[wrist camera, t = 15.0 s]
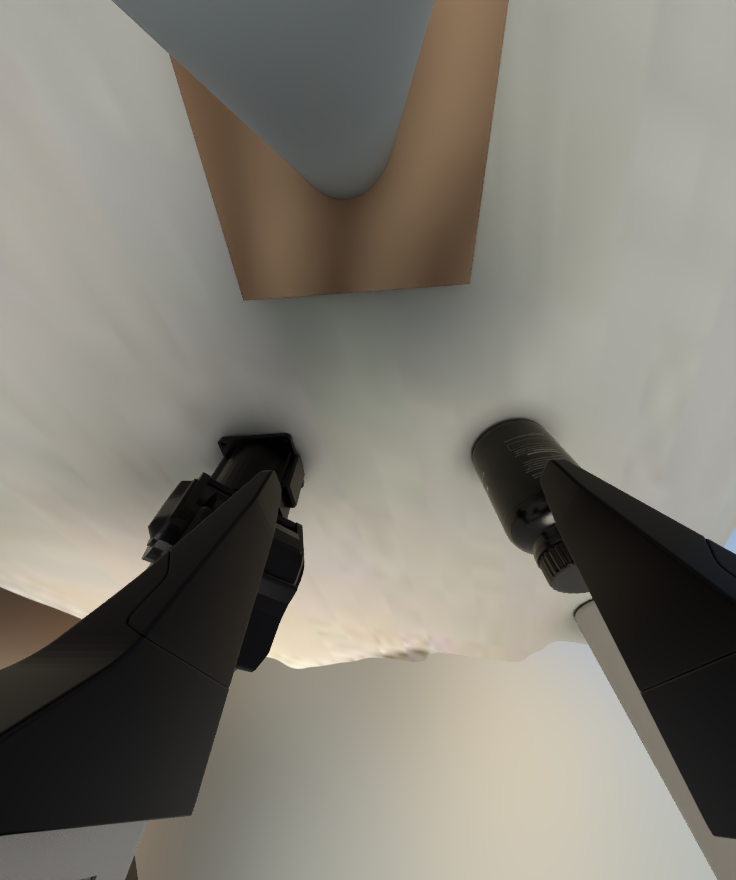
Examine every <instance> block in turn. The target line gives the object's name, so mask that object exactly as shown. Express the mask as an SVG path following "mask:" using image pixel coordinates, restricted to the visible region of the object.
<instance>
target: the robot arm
mask: <svg viewBox="0 0 736 880" xmlns="http://www.w3.org/2000/svg"><path fill="white" fill-rule="evenodd" d="M284 439H287V441H286V440H284ZM223 442H225V443H226V444H225V443H223ZM218 445H219V447H220V449H221V451H222V453H223V455H224V458H223V459H222V461H221V462H220V464H219V465H218V467H217V468H216V470H215V472H214V473H213V475H212V476H211V478H210V475H208V474H206V473H204V472H203V473H202V475H201V476H200V477H199V478H198V479H194V480H192V481H181V482H180V483H179V485H178V486H177V487H176V489H175V490H174V491H173V493H172V494H171V495H170V496H169V498H168V499H167V500H166V502H165V503H164V505H163V506H162V507H161V509H160V510H159V512H158V513H157V515H156V516H155V517H154V519H153V520H152V522H151V523H150V525H149V526H148V529H149V534H150V540H149V542H148V543H147V546H148V547H147V549H146V551H145V553H144V555H143V557H142V560H145V561H148V562H151V564H150V565H149V567H148V568H147V569H146V570H145V571H144V572H143V573H141V574H140V575H139V576H138V577H137V578H135V579H134V580H133V581H132V582H130V583H129V584H128V585H126V586H125V587H124V588H123V589H121V590H120V591H119V592H117V593H116V594H115V595H114V596H112V597H111V598H110V599H108V600H107V601H106V602H104V603H103V604H102V605H101V606H99V607H98V608H97V609H95V610H94V611H93V612H91V613H90V614H89V615H87V616H86V617H85V618H83V619H82V620H81V621H80V622H78V623H77V624H76V625H74V626H73V627H72V628H70V629H69V630H68V631H66V632H65V633H64V634H62V635H61V636H60V637H58V638H57V639H56V640H54V641H53V642H51V643H50V644H49V645H47V646H45V647H44V648H42V649H41V650H39V651H38V652H36V653H34V654H32V655H31V656H29V657H27V658H25V659H23V660H21V661H19V662H17V663H15V664H13V665H10V666H8V667H6V668H3V669H1V670H0V880H138V877H137V869H136V862H135V852H136V849H137V847H138V844H139V842H140V839H141V837H142V834H143V831H144V829H145V826H146V823H147V821H148V820H156V819H165V818H175V817H184V816H191V815H192V812H193V809H194V806H195V803H196V800H197V796H198V793H199V790H200V786H201V782H202V779H203V776H204V773H205V769H206V765H207V762H208V758H209V755H210V752H211V749H212V745H213V742H214V738H215V735H216V732H217V728H218V725H219V721H220V718H221V714H222V711H223V708H224V704H225V701H226V697H227V694H228V690H229V686H230V683H231V680H232V676H233V673H234V672H235V671H236V670H237V669H240V670H244V671H248V672H253V671H254V670H256V668H257V667H258V666H259V665H260V663H261V662H262V661H263V660H264V658H265V657H266V656H267V655H268V653H269V651H270V648H271V645H272V643H273V640H274V637H275V634H276V631H277V629H278V626H279V623H280V621H281V618H282V616H283V614H284V612H285V610H286V608H287V606H288V604H289V603H290V601H291V599H292V598H293V596H294V595H295V593H296V591H297V588H298V585H299V583H300V581H301V578H302V575H303V570H304V547H303V530H302V525H300V524H299V523H297V522H296V523H294V522H292V521H291V520H289V519H287V518H288V514H289V511H290V508H295V506H296V505H297V502H298V498H299V494H300V490H301V488H302V487H303V486H304V480H303V479H304V471H303V467H302V463H301V460H300V456H299V455H298V454H296V452H295V448H294V445H293V441H292V438H291V436H290V435H288V434H270V435H253V436H235V437H222V438H221V439H220V440H219V441H218ZM540 483H541V486H542V489H543V492H544V494H545V497H546V500H547V502H548V505H549V508H550V510H551V513H552V516H553V519H554V521H555V524H556V526H557V528H558V530H559V532H560V534H561V536H562V538H563V540H564V542H565V544H566V546H567V548H568V550H569V552H570V554H571V556H572V558H573V560H574V562H575V564H576V566H577V568H578V570H579V572H580V574H581V576H582V578H583V580H584V582H585V584H586V586H587V588H588V590H589V592H590V594H591V596H592V598H593V600H594V602H595V604H596V606H597V608H598V610H599V612H600V614H601V616H602V618H603V620H604V622H605V624H606V626H607V628H608V630H609V632H610V634H611V636H612V638H613V640H614V642H615V644H616V646H617V648H618V650H619V652H620V654H621V656H622V658H623V660H624V662H625V664H626V666H627V668H628V670H629V672H630V674H631V676H632V678H633V680H634V681H635V683H636V685H637V687H638V689H639V691H641V692H640V694H641V696H642V698H643V700H644V702H645V704H646V706H647V708H648V710H649V712H650V714H651V716H652V718H653V720H654V722H655V724H656V726H657V728H658V730H659V732H660V734H661V736H662V738H663V740H664V742H665V744H666V746H667V748H668V750H669V752H670V753H671V755H672V757H673V759H674V761H675V763H676V765H677V767H678V769H679V771H680V773H681V775H682V777H683V779H684V781H685V783H686V785H687V787H688V789H689V791H690V793H691V795H692V797H693V799H694V801H695V803H696V805H697V807H698V809H699V811H700V813H701V815H702V817H703V819H704V821H705V823H706V825H707V826H708V828H709V830H710V831H711V833H712V835H713V836H715V837H722V838H729V839H736V554H734V553H732V552H731V551H729V550H727V549H725V548H723V547H722V546H720V545H718V544H716V543H715V542H713V541H711V540H709V539H705V538H704V537H703V536H702V535H700V534H698V533H696V532H695V531H693V530H691V529H689V528H688V527H686V526H684V525H682V524H680V523H679V522H677V521H675V520H673V519H671V518H670V517H668V516H666V515H664V514H662V513H661V512H659V511H657V510H655V509H653V508H652V507H650V506H648V505H646V504H645V503H643V502H641V501H639V500H637V499H636V498H634V497H632V496H630V495H628V494H627V493H625V492H623V491H621V490H619V489H618V488H616V487H614V486H612V485H611V484H609V483H607V482H605V481H603V480H602V479H600V478H598V477H596V476H594V475H593V474H591V473H589V472H587V471H585V470H584V469H582V468H580V467H578V466H576V465H575V464H573V463H571V462H569V461H568V460H566V459H562V458H560V459H550V460H548V461H547V463H546V466H545V468H544V470H543V472H542V475H541V477H540Z"/></svg>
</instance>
